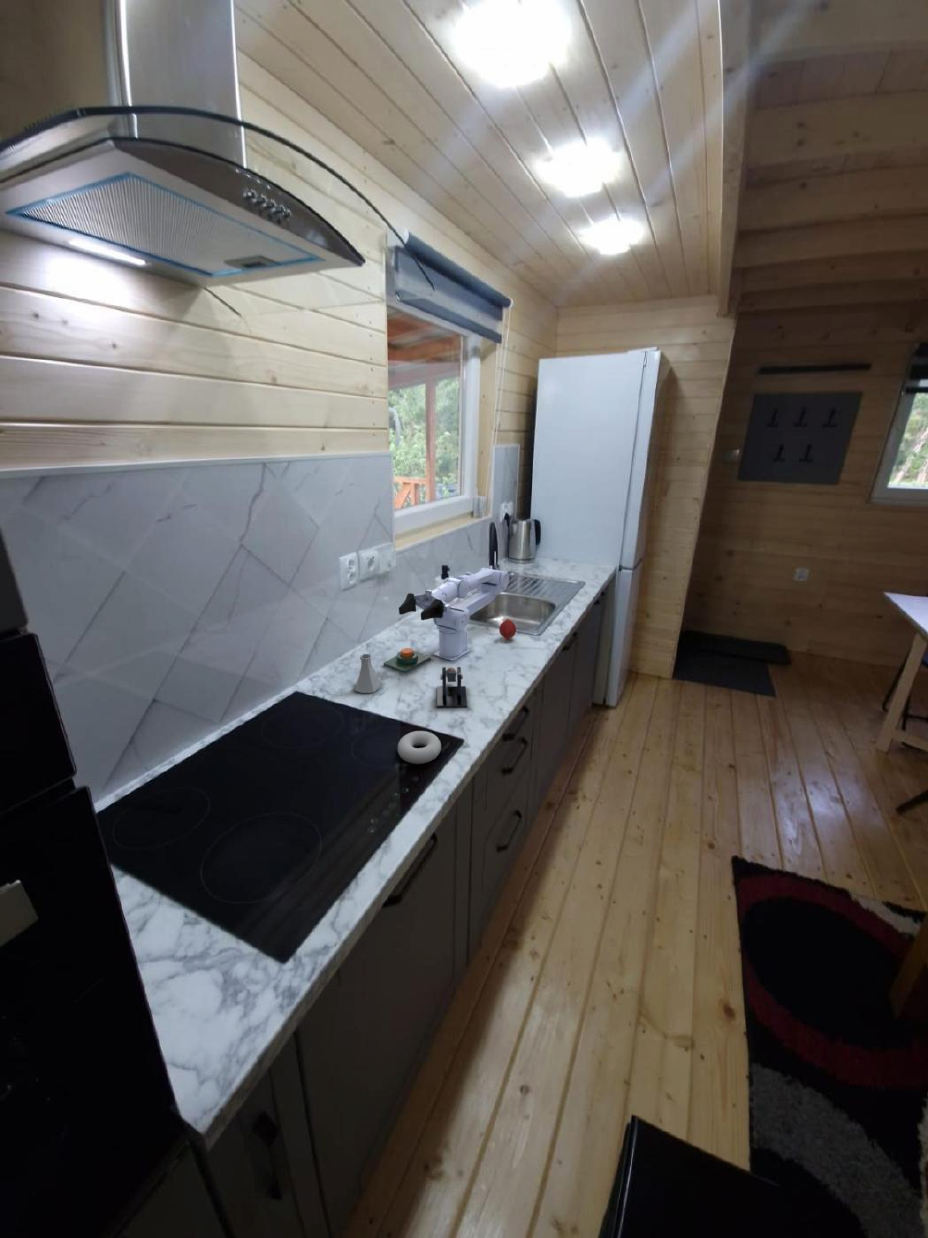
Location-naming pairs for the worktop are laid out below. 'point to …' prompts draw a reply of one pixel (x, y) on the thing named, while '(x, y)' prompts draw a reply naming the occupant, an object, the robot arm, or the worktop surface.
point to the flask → (367, 676)
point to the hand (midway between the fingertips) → (410, 613)
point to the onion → (507, 629)
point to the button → (406, 652)
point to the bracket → (451, 692)
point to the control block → (406, 662)
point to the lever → (451, 674)
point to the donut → (419, 754)
